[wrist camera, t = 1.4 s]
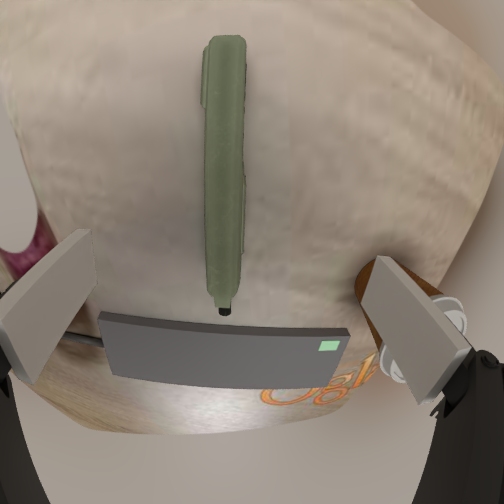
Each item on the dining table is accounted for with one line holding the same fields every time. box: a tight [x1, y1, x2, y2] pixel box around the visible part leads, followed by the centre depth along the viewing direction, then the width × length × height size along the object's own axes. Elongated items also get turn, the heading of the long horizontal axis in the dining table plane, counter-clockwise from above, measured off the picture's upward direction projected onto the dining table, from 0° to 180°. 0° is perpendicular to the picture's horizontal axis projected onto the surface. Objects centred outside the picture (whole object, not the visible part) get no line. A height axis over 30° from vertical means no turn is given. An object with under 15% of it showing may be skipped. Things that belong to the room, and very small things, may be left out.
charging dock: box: [61, 312, 350, 389], centre depth 32 cm, size 38×10×2 cm, turn 83°
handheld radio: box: [201, 35, 247, 316], centre depth 22 cm, size 7×3×25 cm
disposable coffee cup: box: [355, 259, 467, 383], centre depth 25 cm, size 10×10×12 cm
